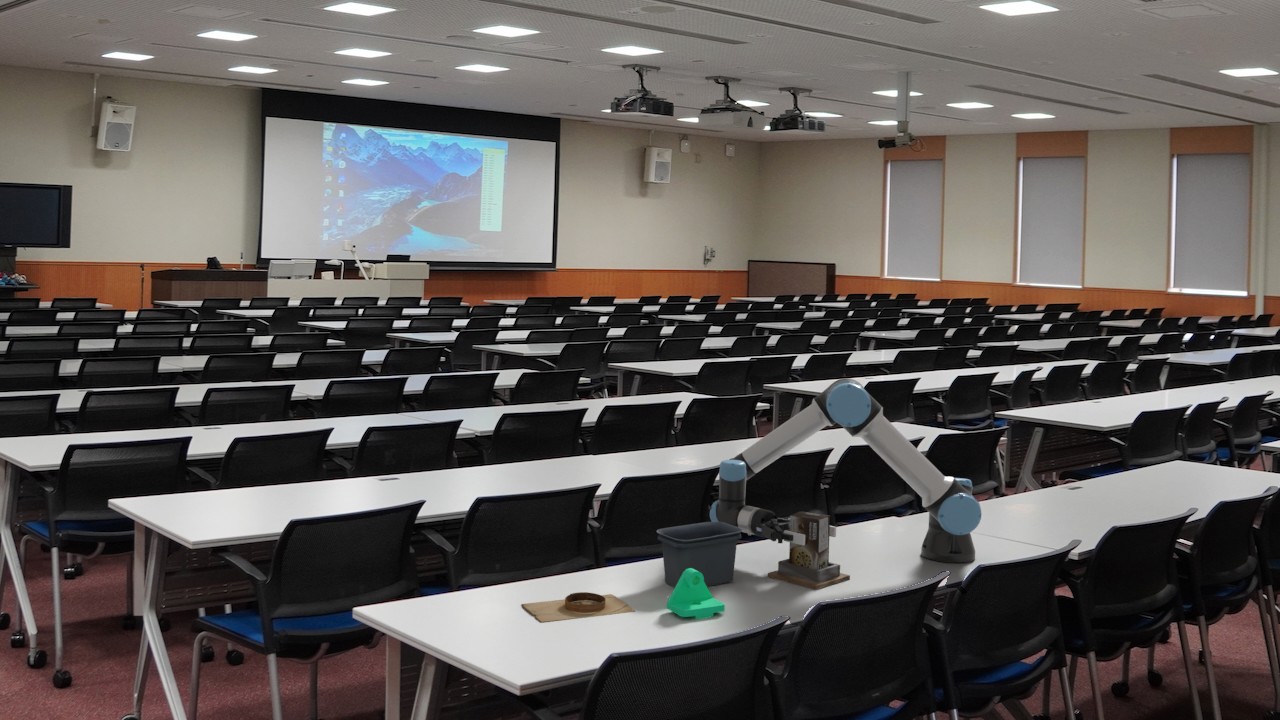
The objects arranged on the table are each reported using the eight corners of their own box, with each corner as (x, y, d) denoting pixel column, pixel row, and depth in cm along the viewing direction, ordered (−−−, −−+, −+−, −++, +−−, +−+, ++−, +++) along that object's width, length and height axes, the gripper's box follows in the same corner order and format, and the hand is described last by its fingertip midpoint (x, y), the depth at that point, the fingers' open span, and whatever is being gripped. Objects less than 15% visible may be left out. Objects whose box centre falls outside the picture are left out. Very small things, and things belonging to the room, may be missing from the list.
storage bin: (679, 595, 292) (680, 540, 291) (646, 580, 305) (647, 527, 304) (746, 584, 304) (748, 530, 302) (711, 570, 317) (712, 518, 315)
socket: (801, 566, 322) (802, 552, 321) (849, 578, 310) (850, 564, 310) (767, 576, 311) (768, 561, 311) (815, 589, 300) (816, 574, 299)
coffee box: (829, 574, 311) (831, 515, 309) (818, 579, 305) (820, 519, 304) (799, 568, 316) (801, 510, 314) (787, 573, 311) (789, 514, 309)
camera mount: (682, 622, 272) (683, 579, 271) (666, 612, 279) (667, 570, 278) (726, 615, 278) (727, 573, 277) (709, 606, 284) (710, 565, 283)
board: (613, 596, 293) (613, 584, 292) (639, 613, 279) (639, 600, 279) (519, 607, 282) (519, 594, 282) (541, 626, 268) (541, 612, 268)
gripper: (785, 528, 331) (847, 542, 316) (728, 542, 314) (790, 557, 299) (786, 502, 331) (848, 515, 316) (728, 515, 313) (791, 529, 298)
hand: (820, 536), depth 307 cm, fingers open, 13 cm apart
